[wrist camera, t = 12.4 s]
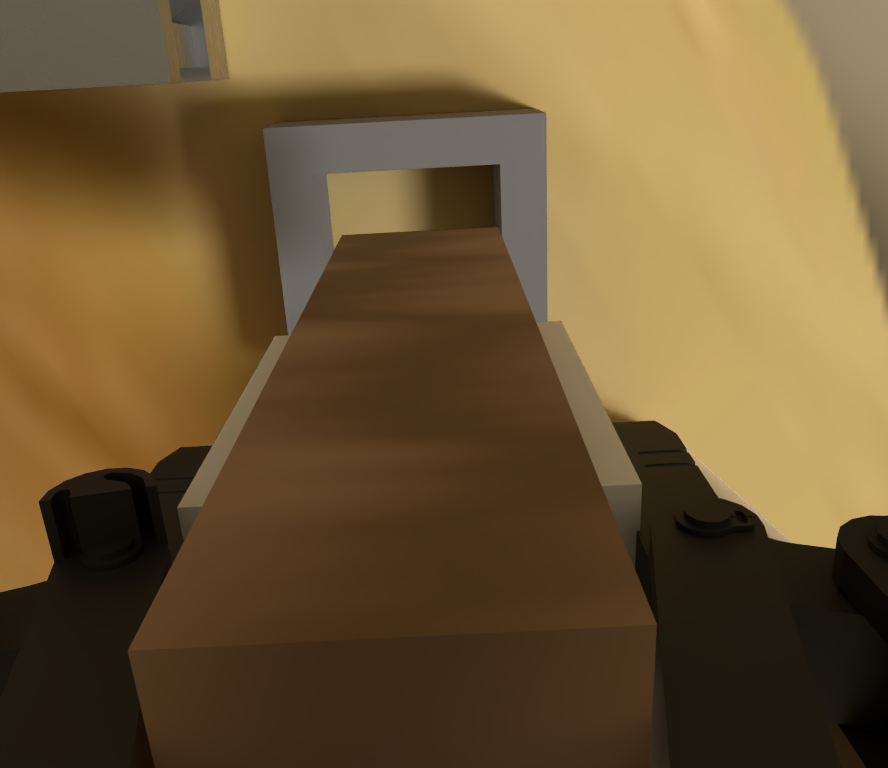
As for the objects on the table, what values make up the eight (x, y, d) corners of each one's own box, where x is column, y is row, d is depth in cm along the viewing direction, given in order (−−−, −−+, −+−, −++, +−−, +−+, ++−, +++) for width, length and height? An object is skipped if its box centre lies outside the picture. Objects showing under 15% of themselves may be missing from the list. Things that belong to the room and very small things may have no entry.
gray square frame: (306, 363, 32) (295, 392, 29) (277, 122, 29) (262, 128, 26) (536, 350, 32) (547, 378, 29) (534, 108, 29) (546, 113, 26)
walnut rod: (355, 380, 23) (209, 998, 8) (342, 235, 21) (127, 651, 6) (502, 373, 23) (637, 979, 8) (498, 226, 21) (657, 624, 6)
